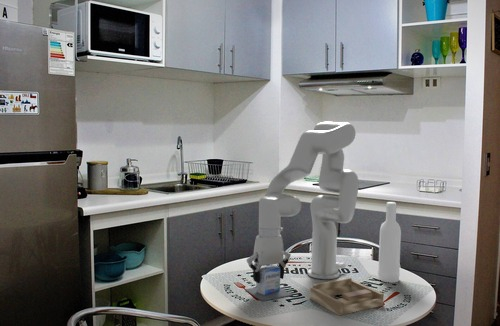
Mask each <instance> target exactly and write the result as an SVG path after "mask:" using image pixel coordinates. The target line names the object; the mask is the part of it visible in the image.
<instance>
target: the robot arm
mask: <svg viewBox="0 0 500 326" xmlns="http://www.w3.org/2000/svg"><path fill="white" fill-rule="evenodd" d="M356 134H357V133H356V129H355V126H354V125H352V124H351V123H349V122H338V121H337V122H335V121H334V122H333V121H323V122H318V123H317V124H316V125H315V126H314V127H313V130H306V131H304V132H303V133H302V134H301V135H300V137H299V139H298V141H297V143H296V147H295V149H294V151H293V154H292V155H291V158H290V159H289V160H290V161H289V163H288V165H287V166H285V167H284V168H283V169H281V170H280V172H279V173H277V174H276V176H274V177H273V178H272V180H271V181H270V183H269V184H268V187H267V189H266V191H265V195H264V196H262V197H261V198H259V201H258V235H256V237H255V241H254V246H253V254H252V255H250V256H249V257H248V258H247V259H246V262H247V263H246V264H248V267H249V268H250V269H251V270H252V278H253V281H254V282H255V283H256V282H257V283H259V282H260V272H259V269H260V268H262V267H266V266H269V265H277V266H278V267H280V280H283V279H284V277H285V268H286V265H287V264H288V262H289V260H290V257H291V253H289V252H287V251H285V250H284V242H283V241H284V240H283V237H282V234H281V232H283V231H284V228H283V227H281V217H294V216H296V215H298V214H299V213H300V211H301V210H302V202H301V200H300V198H298V197H297V196H295V195H292V194H286V193H284V190H285V189H286V188H287V187H288V186H289V185H291V184H292V183H294V182H296V181H299V180H301V179H304V178H306V177H308V176H309V175H310V174H311V172H312V170H313V167H314V165H315V162H316V161H317V158H318V155H321V156H322V159H321V164H320V165H321V166H320V169H319V170H320V171H319V177H318V188H320V189H321V191H324V192H326V193H327V192H328V193H331V194H332V193H333V194H338V196H335V195H334V196H333V195H327V194H319V195H316V196H314V197H313V198H312V199H311V202H310V207H309V208H310V215H311V221H312V223H311V224H312V232H311V233H312V235H311V245H312V246H311V268H308V270H307V275H308V276H309V277H311V278H314V279H317V280H318V279H320V280H333V279H337V278H339V277H340V275H341V274H340V273H341V272H340V271H339V270H340V269H345V268H346V266H347V264H346V263H345V262H337V248H338V247H337V246H338V245H337V241H338V230H337V226H336V223H339V224H348V223H350V222H351V221H352V220H353V217H354V215H355V211H356V206H357V204H356V203H357V198H358V194H359V193H358V192H359V188H360V187H359V184H360V183H359V177H358V174H357V173H356V172H355V171H354V170H351V169H345V168H344V166H345V165H344V163H345V154H344V151H343V149H345V148H347V147H349V146H350V145H351V144H352V143H353V142H354V140H355V138H356Z"/></svg>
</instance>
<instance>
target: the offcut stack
mask: <svg viewBox="0 0 500 326" xmlns="http://www.w3.org/2000/svg"><path fill="white" fill-rule="evenodd" d="M336 299H337V300H339V301H341V302H343V306H346V305H350V304H355V303H360V302H364V301H369V300H373V299H372V292H371V291H369V290H367V289H364V290H359V291H354V292H349V293H344V294H341V298H336Z"/></svg>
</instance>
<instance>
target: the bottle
mask: <svg viewBox="0 0 500 326" xmlns="http://www.w3.org/2000/svg"><path fill="white" fill-rule="evenodd" d="M385 210H386V212H385V221H384V222H382V223H381V225H380V228H379V244H378V245H379V246H378V270H377V275H378V276H377V278H378V281H380V280H381V282H384V283H388V282H389V283H398V282H399V281H400V276H401V275H400V266H401V265H400V263H401V243H402V242H401V241H402V228H401V226H400V224H399V222H397V203H396V202H395V201H388V202H386V206H385Z"/></svg>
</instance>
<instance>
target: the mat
mask: <svg viewBox="0 0 500 326" xmlns="http://www.w3.org/2000/svg"><path fill="white" fill-rule="evenodd" d="M245 291H246V292H247V293H249V294H250V295H252V296H253V297H255V298H257V299H258V301H259V300H260V301H261V302H267V301H272V300H278V299H283V298H288V297H293V294H291V293H290V292H288V291H286V290H285V289H283V288H281V287H280V290H279V291H276V292H273V293H270V294H267V295H263V294H260V293H257V292H256V287H250V288H245Z"/></svg>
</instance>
